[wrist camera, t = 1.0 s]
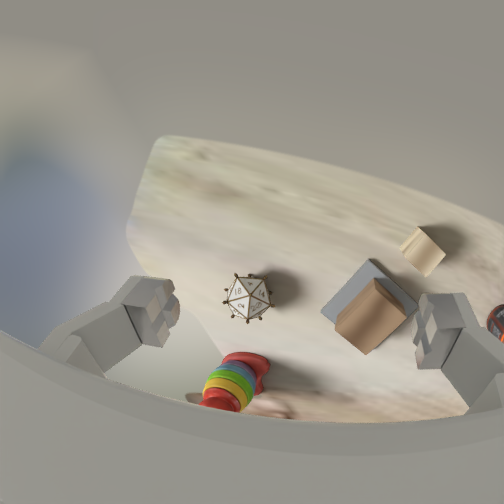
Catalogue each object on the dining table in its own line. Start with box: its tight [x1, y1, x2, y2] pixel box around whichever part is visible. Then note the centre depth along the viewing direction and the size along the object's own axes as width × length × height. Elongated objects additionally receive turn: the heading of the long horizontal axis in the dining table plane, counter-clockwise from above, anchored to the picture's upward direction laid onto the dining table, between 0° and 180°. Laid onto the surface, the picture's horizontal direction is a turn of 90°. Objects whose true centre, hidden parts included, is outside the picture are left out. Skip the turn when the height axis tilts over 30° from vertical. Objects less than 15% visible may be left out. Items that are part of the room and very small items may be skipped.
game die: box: [222, 273, 275, 324], centre depth 49 cm, size 9×8×10 cm
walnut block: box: [335, 278, 407, 355], centre depth 43 cm, size 7×9×5 cm
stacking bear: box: [198, 352, 270, 413], centre depth 51 cm, size 11×10×18 cm
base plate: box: [321, 259, 418, 353], centre depth 46 cm, size 12×12×1 cm
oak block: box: [400, 227, 446, 277], centre depth 39 cm, size 4×4×6 cm
